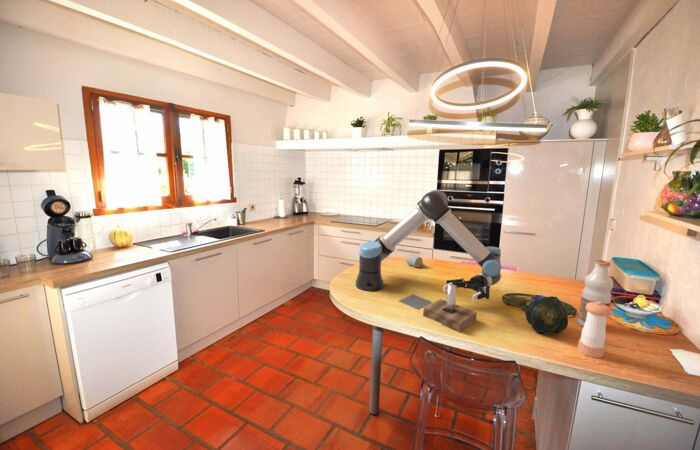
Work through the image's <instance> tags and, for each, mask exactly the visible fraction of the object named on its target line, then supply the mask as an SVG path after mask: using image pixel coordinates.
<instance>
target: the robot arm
mask: <svg viewBox="0 0 700 450" xmlns="http://www.w3.org/2000/svg"><path fill="white" fill-rule="evenodd" d="M448 204H449V198H448V196H447V194H446V193H445V192H443V191H442V190H440V189H439V190H438V189H434V190H431V191H430V192H427V193H425V194H424V195H423V197H422V198H421V199H420V200H419V201H418V202H417V203H416V207H415V208H414V209H413V210H412V211H411V212H410V213H408V215H406V216H405V217H404V218H403V219H402V220H401V221H399V222H398V223H397V224H396V225H395V226H394V227H393V228H391V229H390V230H389V231H388V232H386V234H384V233H383V234H380V236H378V237H377V238H376V239H375V240H373V241H372V240H371V241H365V242H363V243H361V245H360V247H359V251H358V252H359V259H358V260H359V262H358V263H359V265H358V266H359V267H358V268H359V270H358V274H357V277H356V280H355V286H356V288H357V289H359V290H362V291H369V292H370V291H371V292H372V291H373V292H375V291H380V290H382V289H383V288H384V280H383V276H382V271H381V270H382V262H383V261H384V260H385V259H386V258H388V257H389V256H390V255H391V254H392V253H393V252H394V251H396V247H397V246H398V245H399V244H400V243H402V242H403V241H404V240H405V239H406V238H407V237H409V236H410V235H411V234H412V233H413V232H414V231H416V230H417V229H418V228H419V227H421V225H424V223H425V222H426V221H428V220H431V221H433V222H434V223H435V224H438V225H440V226H441V227H442V228H443V229H444V231H445V232H446V233H448V234H449V235H450V237H451V238H452V239H453V240H454V241H455V242H456V244H458V245H459V246H460V247H461V248H462V249H463V250H464V251H465V252H466V253H467V254H468V255H469V256H470V257H471V258H472V259H473V260H474V261H475V262H476V263H477V264H478V265H479V266H480V267H481V272H480V273H477V274H476V275H474V276H472V277H470V279H469V280H465V278H458V279H457V278H456V279H447V280H446V283H445V285H443V287H442V292H444V293H446V292H447V291H448V285H449V284H453V285H456V286H457V288H461V289H462V288H463V289H464V290H465V289H469V290H472V291H475V292H476V293H474V294H473V295H471V303H474V302H476V301H478V300H483V299H486V300H489V299H490V291H491V287H492V286H494V285H496V284H498V283H499V281H501V279H502V274H501V270H502V264H501V257H502V256H501V255H502V254H501V253H502V250H501V248H500V247H497V246H490V245H489V246H485V245H484V244H483V243H482V242H481V241H479V239H478V238H476V236H475V235H474V234H473V233H472V232H471V231H470V230H469V229H468V228H467V227H466V226H465V225H464V224H463V223H462V222H461V221H460V220H459V219H458V218H457V217H456V216H455V215H454V214H453V213H452V208H450V207H449V205H448Z"/></svg>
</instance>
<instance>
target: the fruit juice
mask: <svg viewBox="0 0 700 450" xmlns="http://www.w3.org/2000/svg"><path fill="white" fill-rule="evenodd" d="M593 264H594V267H593V269H592V270H591V272H590V273H589V274H587V275H586V276H585V278H584V288H583V289H582V292H581V296H580V302H579V308H578V314H577V324H578V325H581V327H582V328H583V327H584V325H585V322H586V318H587V312H588V311H587V310H586V305H587V304H588V303H590V302H601V303H602V304H604V305H606V306H608V307H609V308H611V307H610V306H611V302H612V294H611V291H612V290H613V287H614V281H613V279H612V278H611V277H610V274H609V268H610V266H611V262H610V261H606V260H601V259H595V260H594V263H593ZM608 318H609V316H607V319H608ZM607 322H608V321H607ZM607 322H606V324H607Z"/></svg>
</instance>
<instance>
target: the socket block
mask: <svg viewBox="0 0 700 450" xmlns="http://www.w3.org/2000/svg"><path fill="white" fill-rule="evenodd" d="M446 302H447V300H445V299H443V298H440V299H438V300H436V301H434V302H433V303H431V304H429V305H427V306H425V307H423V314H422V316H423V317H425V318H427V319H430V320H432V321H435V322H437V323H439V324H441V325H442V326H444V327H447V328H449V329H450V330H454V331H456V332H458V333H460V332H462V331H463V330H465V329H466V328H467V327H470V326H471V325H472V324H473V323H476V320H477V313H478V312H477V311H475V310H472V309H470V308H467V307H464V306H461V305H458V304H456V303H455V312H454V313H453V314H451V313H448V312H446Z"/></svg>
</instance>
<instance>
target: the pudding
mask: <svg viewBox="0 0 700 450" xmlns="http://www.w3.org/2000/svg"><path fill="white" fill-rule="evenodd" d="M545 297H546V296H545V295H541V294H534V295H533V296H532V299H531V302H533V301H535V300H538V299H541V298H545Z"/></svg>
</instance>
